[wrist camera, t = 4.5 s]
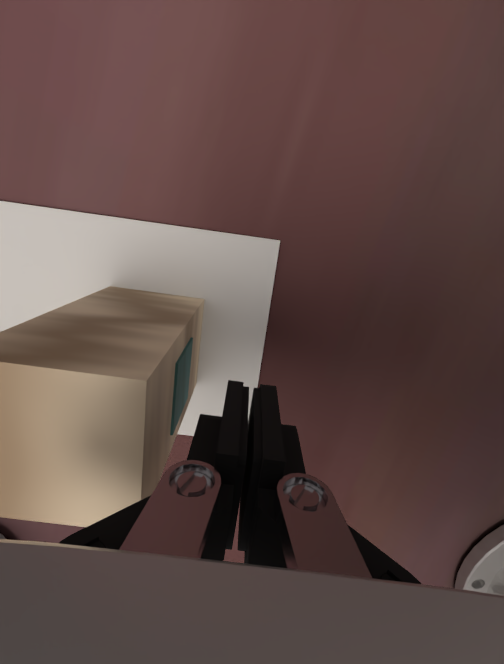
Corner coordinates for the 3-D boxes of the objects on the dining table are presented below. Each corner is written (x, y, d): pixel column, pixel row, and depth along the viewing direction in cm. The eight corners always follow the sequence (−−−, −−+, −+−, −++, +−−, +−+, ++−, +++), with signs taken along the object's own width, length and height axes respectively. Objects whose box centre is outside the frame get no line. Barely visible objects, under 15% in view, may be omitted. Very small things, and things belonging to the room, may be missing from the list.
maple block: (206, 299, 18) (150, 381, 9) (198, 384, 20) (142, 534, 10) (110, 286, 18) (-55, 354, 8) (109, 372, 20) (-33, 513, 10)
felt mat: (279, 240, 18) (280, 240, 17) (248, 440, 21) (248, 442, 21) (-119, 183, 17) (-126, 183, 17) (-82, 398, 21) (-87, 400, 20)
